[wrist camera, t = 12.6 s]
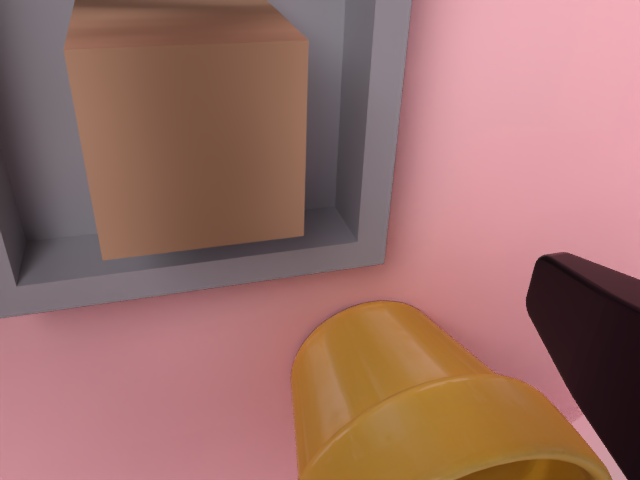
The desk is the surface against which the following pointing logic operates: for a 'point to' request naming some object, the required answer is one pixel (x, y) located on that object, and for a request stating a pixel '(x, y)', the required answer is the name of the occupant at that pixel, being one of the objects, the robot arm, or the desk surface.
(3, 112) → the tray
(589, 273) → the robot arm
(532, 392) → the plant pot
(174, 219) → the walnut block
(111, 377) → the desk surface
